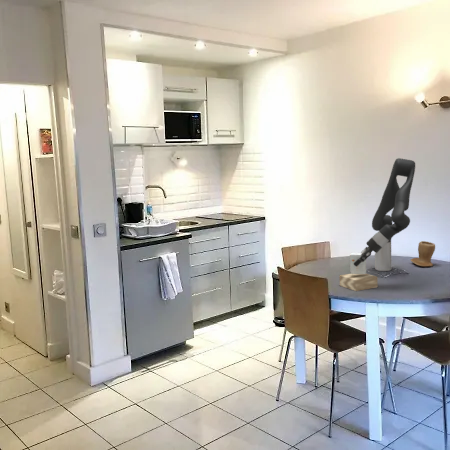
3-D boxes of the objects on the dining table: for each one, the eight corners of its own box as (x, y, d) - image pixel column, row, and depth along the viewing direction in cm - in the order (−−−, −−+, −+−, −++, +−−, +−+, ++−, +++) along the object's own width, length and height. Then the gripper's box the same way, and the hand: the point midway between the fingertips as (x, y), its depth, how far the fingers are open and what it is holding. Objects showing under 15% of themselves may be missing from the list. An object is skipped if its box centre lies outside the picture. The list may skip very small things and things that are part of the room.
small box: (366, 272, 273) (366, 252, 272) (365, 274, 268) (365, 254, 266) (351, 271, 276) (350, 252, 274) (350, 274, 270) (349, 254, 269)
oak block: (339, 286, 276) (339, 275, 275) (360, 282, 282) (360, 271, 281) (356, 291, 263) (356, 280, 263) (377, 287, 269) (377, 276, 268)
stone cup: (438, 267, 308) (438, 243, 306) (418, 268, 308) (418, 243, 306) (429, 262, 323) (429, 239, 321) (410, 263, 323) (410, 239, 321)
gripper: (371, 234, 274) (349, 256, 279) (372, 239, 261) (349, 261, 265) (382, 244, 274) (359, 266, 278) (383, 249, 260) (360, 271, 264)
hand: (354, 263), depth 271 cm, fingers open, 6 cm apart
